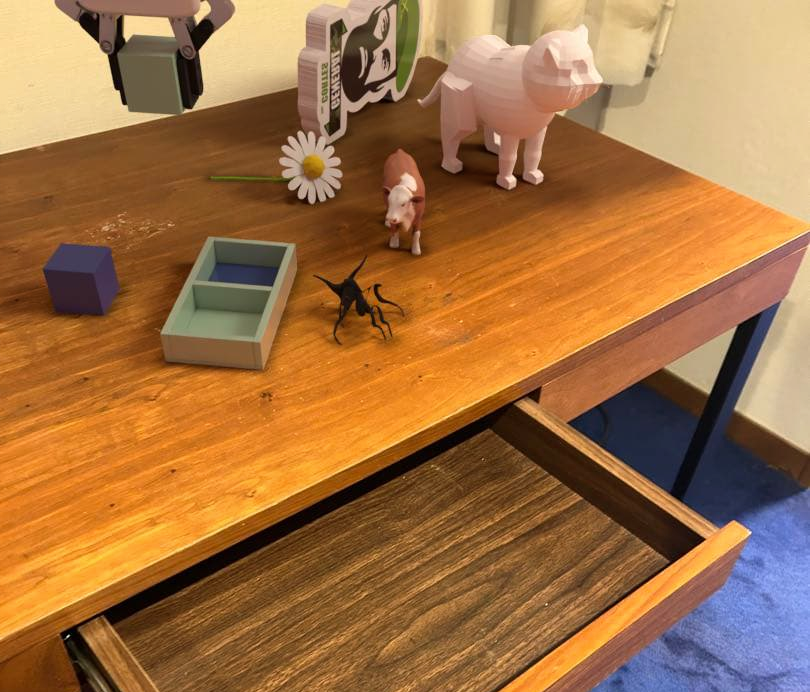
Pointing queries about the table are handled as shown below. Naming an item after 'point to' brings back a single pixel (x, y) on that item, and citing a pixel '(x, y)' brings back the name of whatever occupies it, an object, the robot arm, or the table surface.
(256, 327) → the sorting tray
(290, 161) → the decorative flower
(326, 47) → the cutout
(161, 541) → the table surface
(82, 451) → the table surface
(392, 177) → the bull figurine
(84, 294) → the indigo block
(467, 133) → the cat figurine
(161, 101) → the celadon block
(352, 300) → the creature
